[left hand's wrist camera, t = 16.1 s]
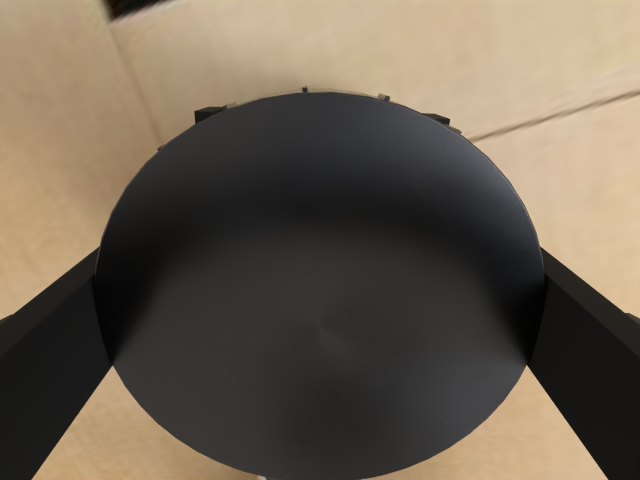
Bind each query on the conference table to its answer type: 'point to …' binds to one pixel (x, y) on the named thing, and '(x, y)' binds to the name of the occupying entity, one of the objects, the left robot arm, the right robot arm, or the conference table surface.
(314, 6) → the conference table surface
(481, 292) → the lid
